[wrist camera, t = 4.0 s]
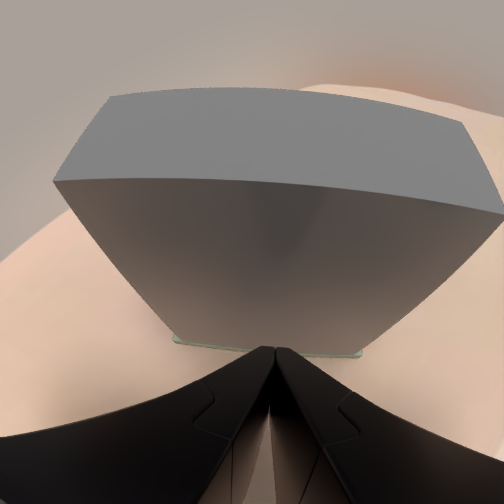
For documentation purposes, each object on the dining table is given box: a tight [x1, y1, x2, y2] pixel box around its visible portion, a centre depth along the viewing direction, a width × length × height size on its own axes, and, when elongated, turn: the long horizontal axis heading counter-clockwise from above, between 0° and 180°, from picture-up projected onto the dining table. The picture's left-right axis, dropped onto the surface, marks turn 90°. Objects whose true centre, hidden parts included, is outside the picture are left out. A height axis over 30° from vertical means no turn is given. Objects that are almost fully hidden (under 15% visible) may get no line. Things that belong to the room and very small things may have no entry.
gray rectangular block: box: [53, 88, 504, 355], centre depth 11 cm, size 3×9×12 cm, turn 84°
